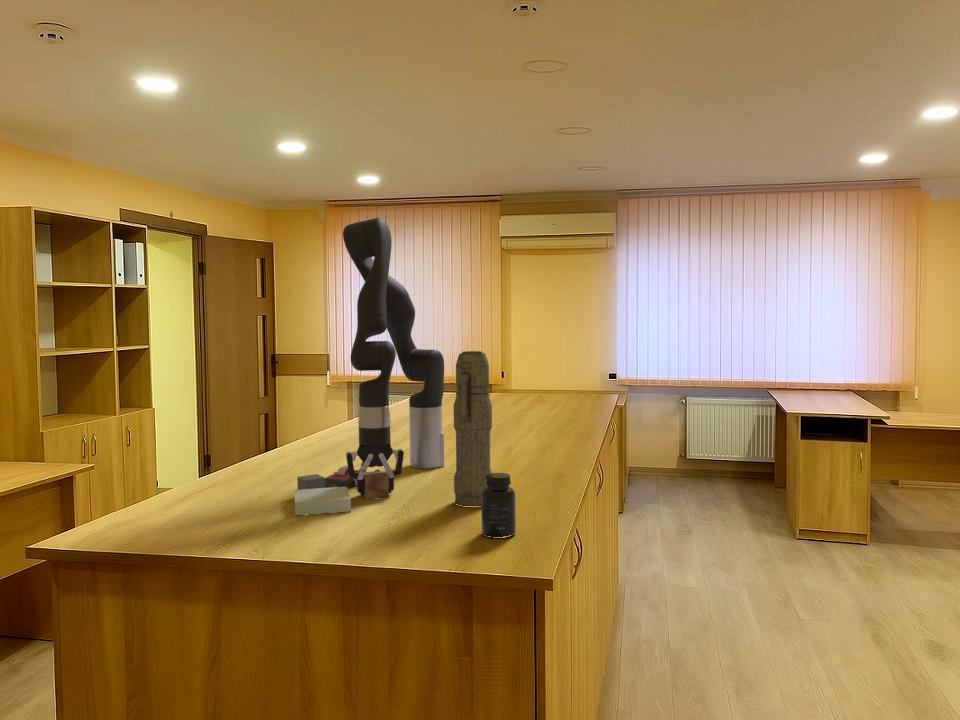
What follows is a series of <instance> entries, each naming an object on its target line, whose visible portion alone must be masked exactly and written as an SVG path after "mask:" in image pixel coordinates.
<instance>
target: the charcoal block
mask: <svg viewBox="0 0 960 720" xmlns="http://www.w3.org/2000/svg"><path fill="white" fill-rule="evenodd" d="M325 478H326V477H325V476H322V475H320V474H317V473H313V474H308V475H300V476H299V475H298V476H297V478H296V480H297V481H296V482H297V490H301V489H316V488H325Z"/></svg>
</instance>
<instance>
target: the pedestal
mask: <svg viewBox="0 0 960 720" xmlns="http://www.w3.org/2000/svg"><path fill="white" fill-rule="evenodd" d="M348 489H349V488H348ZM348 489H347V487H331V488H316V489H301V490H298V489H294V509H295V510H294V511H295V513H294V514H295V516H296V515H304V516H306V515H305V514H317V515H322V514H321V513H331V514H339V513H338V512H345V513H349V512H348V511H351V512H352V498H351V495H350V493H349V490H348Z"/></svg>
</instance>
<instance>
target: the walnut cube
mask: <svg viewBox="0 0 960 720" xmlns="http://www.w3.org/2000/svg"><path fill="white" fill-rule="evenodd" d="M374 471H375V470H374ZM374 471H366V472H365V474H364V476H363V480H364V495H363V497H364V499H369V500H376V499H375V498H383V499H389V498H390V493H389V476H388V474H387V472H386V470H380V471H375V472H374Z"/></svg>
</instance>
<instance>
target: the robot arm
mask: <svg viewBox="0 0 960 720" xmlns="http://www.w3.org/2000/svg"><path fill="white" fill-rule="evenodd" d="M390 230H391V229H390V226H389V225H388V223H387V222H386V221H385V220H384V218H381V217H373V218H370V219H369V218H368V219H366V220H365V219H364V220H361V221H357V222H353V223H350V224H347V225H346V226H344V228H343V232H342V238H343V242H344V243H343V244H344V245H345V246H344V247H346V248H345V249H346V251H347V253H348V254H349V257H350V258H351V261H352V262H353V264H354V265H355V267H356V269H357V271H358V272H359V274H360V276H361V278H362V279H363V281H364V284H363V285H362V287H361V289H360V291H359V293H358V297H357V304H356V305H357V307H356V309H357V310H356V311H357V312H356V313H357V322H356V323H357V325H356V332H355V333H356V334H355V338H354V342H353V345H352V348H351V351H350V356H349V357H350V363H351V365H352V367H353V369H355V370H357V371H360V372H367V371H368V372H369V371H370V372H371V371H375V372H376V371H380V373H379V375H378V376H377V377H376V378H372V379H369V380H365V381H362V382H361V383H359V386H358V387H359V388H358V403H359V404H358V419H357V420H358V448H357V450H356V451H346V453H345V457H346V463H347V466H348V470H349V475H350V477H351V478H355V479H357V486H356V487H357V488H356V490H357V493H358V494H360V496H364V480H363V476H364V474H365V472H368V471H367V470H368V468H375V467H378V468H379V467H380V468H381V467H383V468H384V471H386V473H387V474H388V476H389V494H392V491H394V490H395V477H397V476H400V475H401V474H402V471H403V464H404V463H403V462H404V455H405V451H404V450H403V449H402V448H398V449H394V448H392V444H391V441H392V440H391V423H392V422H391V412H390V400H389V399H390V394H389V393H390V391H389V390H390V389H389V388H390V380H391V377H392V371H393V367H394V365H395V361H396V357H397V358H398V360H399V364H400V365H399V366H400V368H401V370H402V372H403V374H404V376H405V377H406V378H407V380H409V381H412V382H418V383H419V382H420V383H423V389H422V390H421V391H419V392H417V393H414V394H411V395H410V396H409V399H408V406H409V408H408V411H409V412H408V413H409V416H408V417H409V466H410V467H411V468H414V469H425V470H426V469H435V468H440V467H445V437H444V436H445V435H444V432H443V414H442V413H443V403H442V401H443V397H444V389H445V388H444V384H445V359H444V356H443V354H442V352H441V351H439V350H438V349H421V348H420V349H419V348H417V347H416V344H415V343H414V341H413V338H412V330H413V327H414V323H415V318H416V309H415V306H414V304H413V301H412V299H411V297H410V295H409V292H408V290H407V289H406V288H405V286H404V285H403V284H402V283H400V282H399V281H398V280H396V278H394V277H392V276H391V275H389V273H390V264H391V256H392V255H391V254H392V234H391V231H390ZM385 331H387V333H388V334H389V337H390V338H391V339H390V340H391V341H392V342H391V341H389V340H370V341H369V340H368V339H369V338H371V337H375V336H379V335H382V334H383V333H385ZM392 455H393V457H394V458H395V459H396V462H395V468H394V469H393V470H392V468H391V466H390V465H389V463H388V461H389V459H390V458H391V457H392ZM356 457H359V459H360V460H361V461H362V462H361V463H360V466H359V469H358V470H359V471H358V473H356V472H354V470H355V468H354V462H355V461H356Z"/></svg>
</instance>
